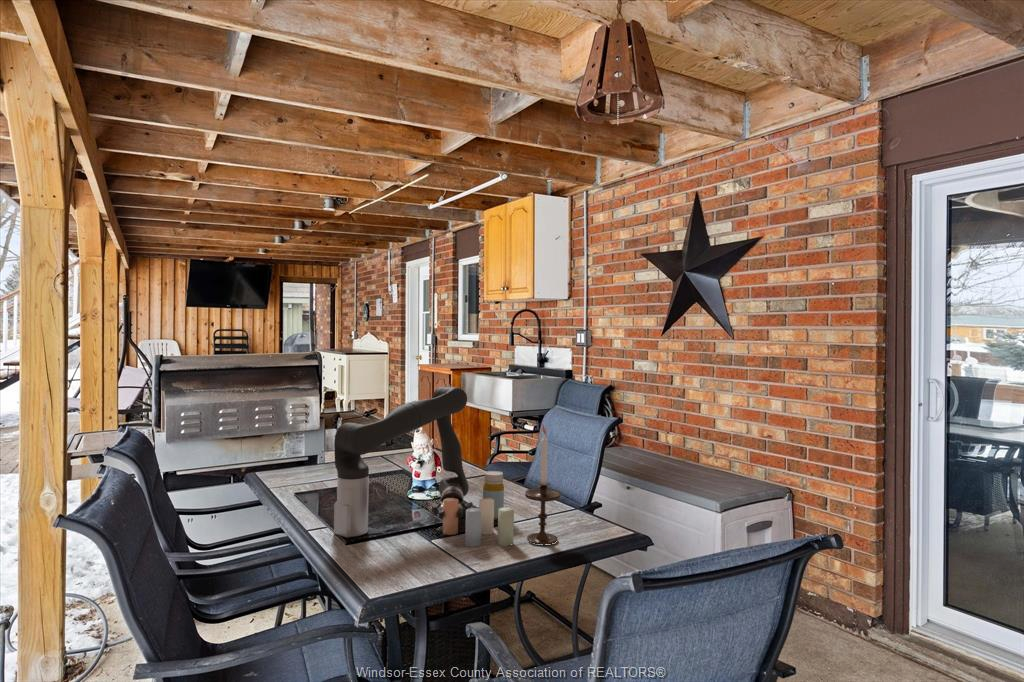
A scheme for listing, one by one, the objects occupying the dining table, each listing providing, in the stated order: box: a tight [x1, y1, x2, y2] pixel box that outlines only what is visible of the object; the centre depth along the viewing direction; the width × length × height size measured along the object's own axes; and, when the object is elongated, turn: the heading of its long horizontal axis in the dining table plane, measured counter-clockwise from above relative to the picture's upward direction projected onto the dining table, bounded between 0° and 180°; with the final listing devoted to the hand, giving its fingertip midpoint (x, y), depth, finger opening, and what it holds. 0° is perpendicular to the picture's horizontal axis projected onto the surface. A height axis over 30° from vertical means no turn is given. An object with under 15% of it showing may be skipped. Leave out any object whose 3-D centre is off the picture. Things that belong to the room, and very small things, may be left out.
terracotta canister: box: [442, 498, 459, 536], centre depth 190 cm, size 5×5×10 cm
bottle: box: [482, 470, 505, 521], centre depth 205 cm, size 7×7×15 cm
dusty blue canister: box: [464, 507, 482, 548], centre depth 180 cm, size 5×5×10 cm
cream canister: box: [478, 497, 495, 536], centre depth 190 cm, size 5×5×10 cm
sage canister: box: [497, 507, 515, 547], centre depth 181 cm, size 5×5×10 cm
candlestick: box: [524, 424, 563, 545], centre depth 184 cm, size 11×11×35 cm
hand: (450, 515), depth 187 cm, fingers closed on terracotta canister, 4 cm apart
